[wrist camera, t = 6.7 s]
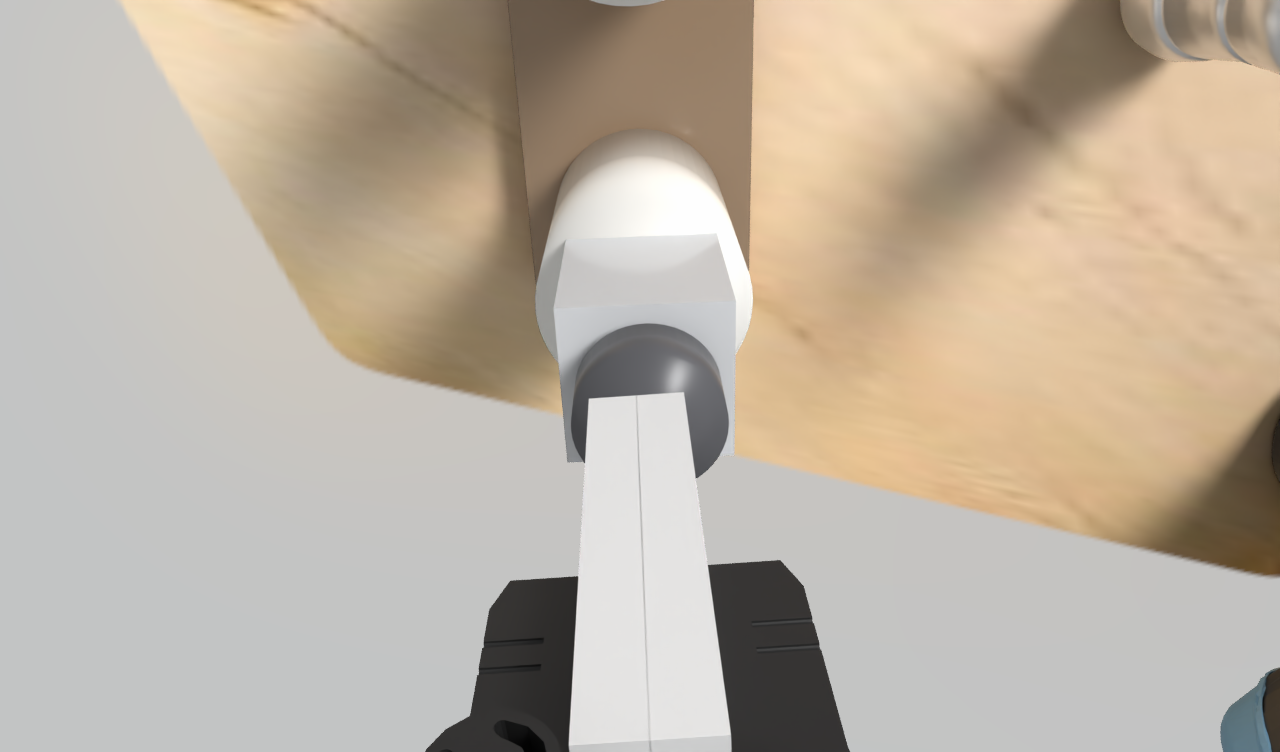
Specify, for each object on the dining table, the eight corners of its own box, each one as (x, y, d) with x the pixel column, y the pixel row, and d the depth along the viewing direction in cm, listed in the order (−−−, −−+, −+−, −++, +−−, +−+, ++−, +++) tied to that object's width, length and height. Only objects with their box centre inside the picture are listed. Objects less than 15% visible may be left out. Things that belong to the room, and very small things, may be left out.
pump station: (744, 273, 52) (815, 486, 33) (539, 281, 52) (489, 500, 33) (752, -242, 41) (869, -386, 21) (490, -230, 41) (366, -362, 21)
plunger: (705, 361, 38) (728, 489, 29) (587, 366, 38) (576, 495, 29) (704, 248, 35) (729, 351, 27) (579, 254, 35) (564, 358, 27)
